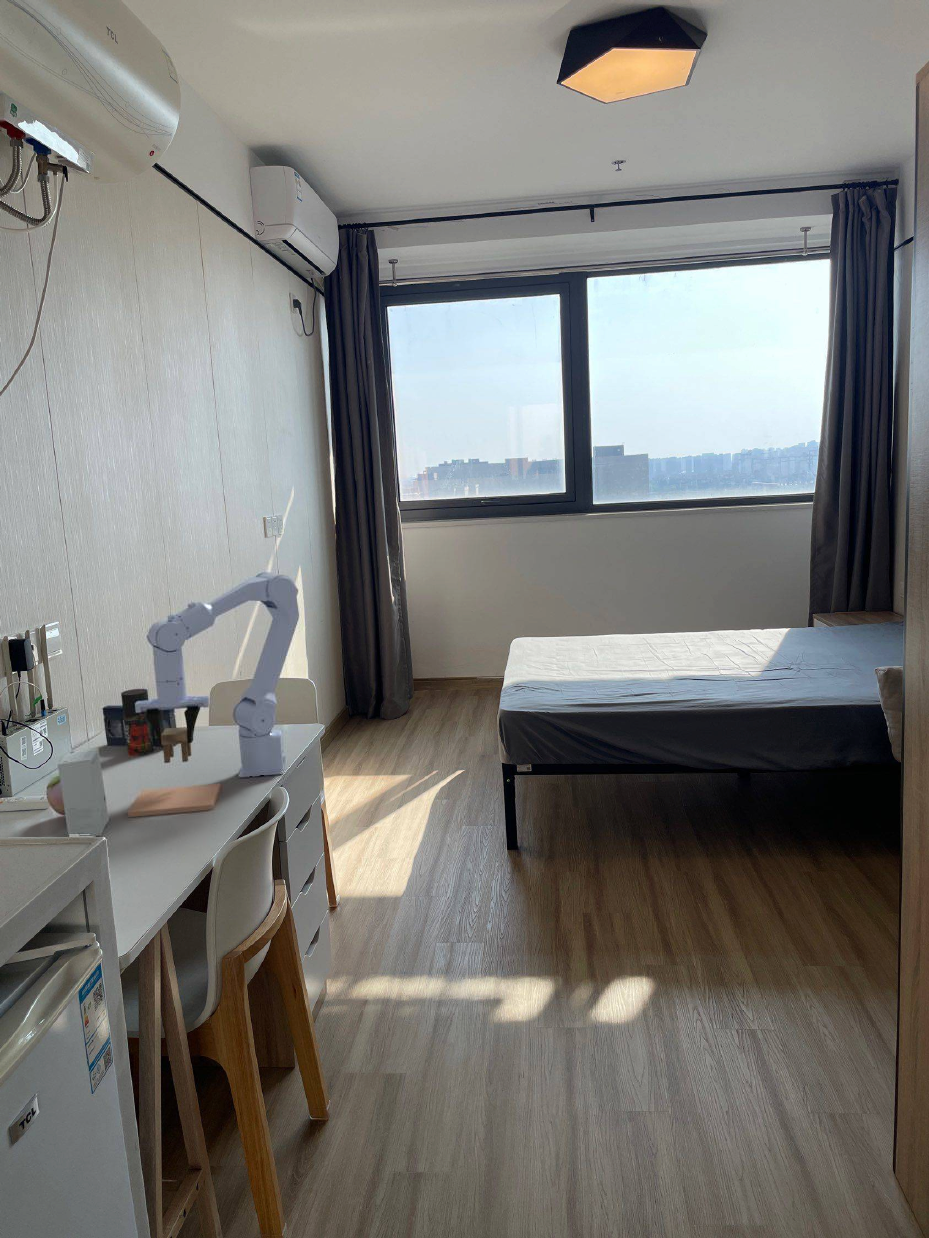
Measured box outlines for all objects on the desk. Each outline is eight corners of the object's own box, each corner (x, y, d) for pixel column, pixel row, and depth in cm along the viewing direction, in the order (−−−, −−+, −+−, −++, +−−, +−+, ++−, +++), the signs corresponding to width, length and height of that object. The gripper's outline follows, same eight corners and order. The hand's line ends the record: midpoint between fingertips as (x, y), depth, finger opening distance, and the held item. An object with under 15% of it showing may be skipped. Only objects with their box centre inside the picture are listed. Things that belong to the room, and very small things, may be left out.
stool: (192, 754, 184) (190, 727, 183) (188, 761, 179) (186, 733, 178) (168, 755, 184) (166, 728, 183) (163, 763, 179) (160, 735, 178)
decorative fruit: (81, 805, 177) (75, 758, 175) (107, 811, 173) (101, 763, 171) (38, 822, 169) (32, 773, 167) (65, 829, 165) (59, 778, 163)
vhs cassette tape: (106, 746, 217) (101, 707, 215) (113, 742, 220) (109, 704, 218) (172, 748, 213) (168, 708, 211) (179, 744, 216) (175, 705, 214)
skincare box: (101, 837, 160) (92, 760, 158) (66, 841, 159) (56, 763, 156) (109, 820, 168) (100, 746, 166) (76, 824, 167) (66, 749, 164)
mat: (220, 788, 183) (220, 783, 183) (212, 809, 171) (212, 804, 171) (142, 795, 181) (141, 790, 181) (128, 817, 169) (127, 812, 169)
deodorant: (122, 754, 209) (115, 694, 206) (140, 747, 214) (133, 688, 212) (142, 756, 207) (135, 695, 204) (159, 749, 212) (152, 689, 209)
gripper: (209, 672, 183) (215, 734, 186) (138, 677, 182) (145, 739, 184) (204, 679, 176) (210, 744, 179) (130, 685, 175) (137, 750, 177)
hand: (176, 742), depth 181 cm, fingers closed on stool, 5 cm apart
